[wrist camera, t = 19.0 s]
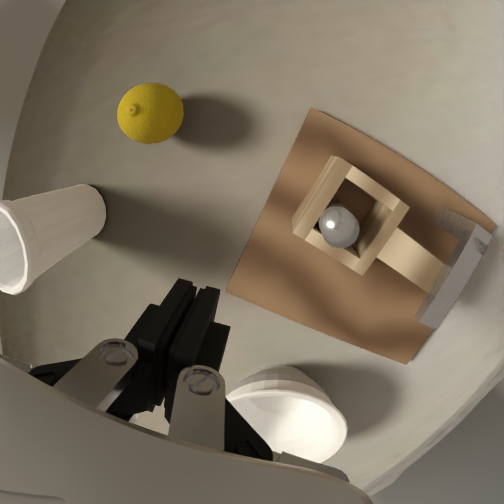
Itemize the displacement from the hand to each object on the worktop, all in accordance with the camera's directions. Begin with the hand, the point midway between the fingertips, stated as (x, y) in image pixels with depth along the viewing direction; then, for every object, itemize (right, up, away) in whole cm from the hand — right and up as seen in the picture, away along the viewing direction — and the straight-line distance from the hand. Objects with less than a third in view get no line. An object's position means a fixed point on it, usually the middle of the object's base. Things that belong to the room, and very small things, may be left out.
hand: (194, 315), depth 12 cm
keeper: (+21, +2, +17) cm, 27 cm away
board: (+15, +2, +19) cm, 24 cm away
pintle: (+9, +6, +17) cm, 20 cm away
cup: (-17, +7, +21) cm, 28 cm away
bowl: (+6, -15, +26) cm, 31 cm away
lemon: (-6, +16, +16) cm, 24 cm away
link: (+15, +4, +17) cm, 23 cm away
